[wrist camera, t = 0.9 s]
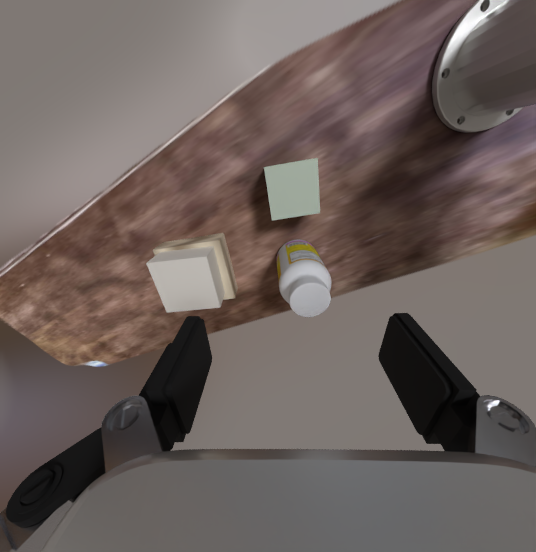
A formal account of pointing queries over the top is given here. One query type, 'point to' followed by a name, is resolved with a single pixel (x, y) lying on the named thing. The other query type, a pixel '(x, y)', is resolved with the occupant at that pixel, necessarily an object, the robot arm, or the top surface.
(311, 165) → the stack block
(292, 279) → the supplement bottle
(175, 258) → the tower top block
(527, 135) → the top surface
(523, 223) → the top surface
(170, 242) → the tower base block
